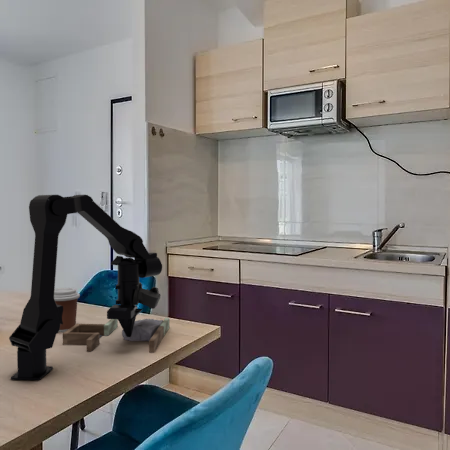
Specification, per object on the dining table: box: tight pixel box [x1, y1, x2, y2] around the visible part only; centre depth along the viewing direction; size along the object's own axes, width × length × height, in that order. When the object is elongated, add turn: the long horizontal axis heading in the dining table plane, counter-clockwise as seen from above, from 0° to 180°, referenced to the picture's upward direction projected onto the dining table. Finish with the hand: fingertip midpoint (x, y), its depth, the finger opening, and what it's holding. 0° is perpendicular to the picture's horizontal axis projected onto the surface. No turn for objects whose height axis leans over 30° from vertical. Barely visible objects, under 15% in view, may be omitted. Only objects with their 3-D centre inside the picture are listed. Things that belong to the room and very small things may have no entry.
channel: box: [62, 317, 170, 353], centre depth 115 cm, size 22×26×3 cm
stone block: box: [121, 318, 164, 342], centre depth 119 cm, size 12×5×10 cm
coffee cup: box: [54, 287, 81, 333], centre depth 124 cm, size 9×9×12 cm
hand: (129, 336), depth 112 cm, fingers closed
